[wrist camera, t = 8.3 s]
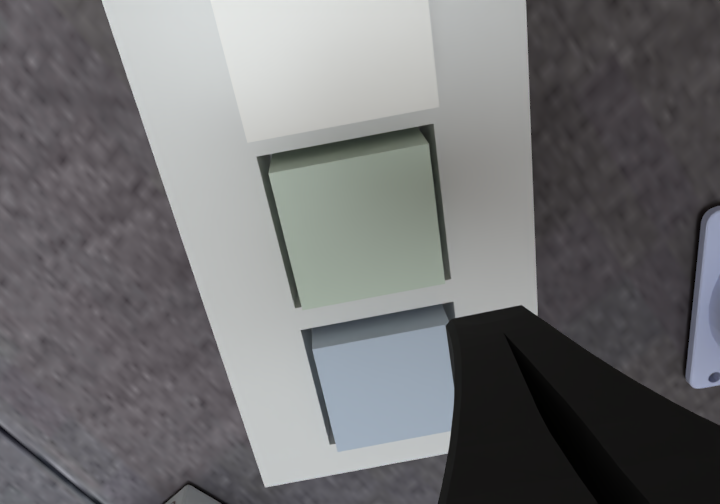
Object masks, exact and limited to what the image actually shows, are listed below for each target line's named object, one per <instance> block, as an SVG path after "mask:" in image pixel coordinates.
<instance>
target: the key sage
mask: <svg viewBox="0 0 720 504" xmlns="http://www.w3.org/2000/svg"><path fill="white" fill-rule="evenodd" d="M268 174H269V178H270V182H271V186H272V190H273V194H274V198H275V202H276V206H277V210H278V214H279V218H280V222H281V226H282V230H283V234H284V238H285V242H286V246H287V250H288V254H289V258H290V262H291V266H292V270H293V274H294V279H295V283H296V287H297V291H298V295H299V299H300V303H301V307H302V310H307V309H312V308H318V307H323V306H329V305H334V304H339V303H345V302H350V301H355V300H361V299H366V298H371V297H377V296H382V295H387V294H393V293H398V292H404V291H409V290H414V289H420V288H425V287H430V286H436V285H441V284H445V277H444V268H443V260H442V251H441V243H440V234H439V226H438V217H437V209H436V200H435V192H434V183H433V175H432V166H431V158H430V149H429V143H428V142H427V140H426V139H425V137H424V136H423V134H422V133H421V132H420V130H419V129H418V127H413V128H407V129H402V130H397V131H391V132H386V133H381V134H375V135H370V136H365V137H359V138H354V139H348V140H343V141H338V142H332V143H327V144H322V145H316V146H311V147H306V148H300V149H295V150H290V151H284V152H279V153H274V154H272V157H271V163H270V168H269V173H268Z"/></svg>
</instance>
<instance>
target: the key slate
mask: <svg viewBox="0 0 720 504" xmlns="http://www.w3.org/2000/svg"><path fill="white" fill-rule="evenodd" d="M448 322H449V320H448V318H447V315H446V313H445V310H444V308H443V305H442V304H438V305H432V306H427V307H422V308H416V309H411V310H406V311H400V312H395V313H389V314H384V315H379V316H373V317H368V318H363V319H357V320H352V321H347V322H341V323H336V324H331V325H325V326H320V327H314V328H312V351H313V355H314V359H315V363H316V367H317V371H318V375H319V379H320V383H321V387H322V391H323V395H324V399H325V403H326V407H327V411H328V415H329V419H330V423H331V427H332V431H333V435H334V439H335V443H336V447H337V451H338V452H341V451H346V450H352V449H357V448H362V447H368V446H373V445H379V444H384V443H389V442H395V441H400V440H405V439H411V438H416V437H421V436H427V435H432V434H438V433H443V432H448V431H451V426H452V417H453V407H454V383H453V376H452V369H451V361H450V354H449V347H448V340H447V333H446V325H447V323H448Z"/></svg>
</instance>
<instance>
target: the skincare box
mask: <svg viewBox="0 0 720 504" xmlns="http://www.w3.org/2000/svg"><path fill="white" fill-rule="evenodd" d="M165 504H221V503H220V502H218V501H216V500H215V499H213V498H211V497H209V496H208V495H206V494H204V493H203V492H201V491H199V490H197V489H196V488H194V487H193V486H191V485H186V486H185V487H184V488H183V489H181V490H180V491H179V492H178V493H177V494H176V495H174V496H173V497H172V498H171V499H170V500H169V501H167V502H166V503H165Z"/></svg>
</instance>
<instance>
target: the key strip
mask: <svg viewBox="0 0 720 504" xmlns="http://www.w3.org/2000/svg"><path fill="white" fill-rule="evenodd" d="M102 3H103V6H104V9H105V12H106V15H107V18H108V21H109V24H110V27H111V30H112V33H113V36H114V39H115V42H116V45H117V47H118V50H119V53H120V56H121V59H122V62H123V65H124V68H125V71H126V74H127V77H128V80H129V83H130V86H131V89H132V92H133V95H134V98H135V101H136V104H137V107H138V110H139V113H140V116H141V119H142V122H143V125H144V128H145V131H146V134H147V137H148V140H149V143H150V146H151V149H152V152H153V155H154V158H155V161H156V164H157V167H158V170H159V173H160V176H161V179H162V182H163V185H164V188H165V191H166V193H167V196H168V199H169V202H170V205H171V208H172V211H173V214H174V217H175V220H176V223H177V226H178V229H179V232H180V235H181V238H182V241H183V244H184V247H185V250H186V253H187V256H188V259H189V262H190V265H191V268H192V271H193V274H194V277H195V280H196V283H197V286H198V289H199V292H200V295H201V298H202V301H203V304H204V307H205V310H206V313H207V316H208V319H209V322H210V325H211V328H212V331H213V334H214V337H215V340H216V342H217V345H218V348H219V351H220V354H221V357H222V360H223V363H224V366H225V369H226V372H227V375H228V378H229V381H230V384H231V387H232V390H233V393H234V396H235V399H236V402H237V405H238V408H239V411H240V414H241V417H242V420H243V423H244V426H245V429H246V432H247V435H248V438H249V441H250V444H251V447H252V450H253V453H254V456H255V459H256V462H257V465H258V468H259V471H260V474H261V477H262V480H263V483H264V486H265V487H270V486H276V485H281V484H286V483H292V482H297V481H302V480H308V479H313V478H318V477H324V476H329V475H335V474H340V473H345V472H351V471H356V470H361V469H367V468H372V467H377V466H383V465H388V464H394V463H399V462H404V461H410V460H415V459H420V458H426V457H431V456H436V455H442V454H447V453H448V450H449V443H450V435H451V431H448V432H443V433H438V434H432V435H427V436H421V437H416V438H411V439H405V440H400V441H395V442H389V443H384V444H379V445H373V446H368V447H362V448H357V449H352V450H346V451H341V452H338V451H337V447H336V443H335V439H334V435H333V431H332V427H331V423H330V419H329V415H328V411H327V407H326V403H325V399H324V395H323V391H322V387H321V383H320V379H319V375H318V371H317V367H316V363H315V359H314V355H313V351H312V328H314V327H320V326H325V325H331V324H336V323H341V322H347V321H352V320H357V319H363V318H368V317H373V316H379V315H384V314H389V313H395V312H400V311H406V310H411V309H416V308H422V307H427V306H432V305H438V304H442V305H443V308H444V310H445V313H446V315H447V318H448V320H449V321H450V320H451V319H453V318H458V317H463V316H468V315H473V314H478V313H483V312H488V311H493V310H499V309H504V308H509V307H514V306H519V305H522V306H524V307H525V308H527V309H528V310H529V311H531V312H532V313H534V314H535V315H537V316H538V308H537V281H536V255H535V228H534V202H533V175H532V149H531V122H530V95H529V69H528V42H527V16H526V0H428V3H429V13H430V22H431V32H432V41H433V50H434V60H435V69H436V79H437V88H438V97H439V107H436V108H431V109H426V110H420V111H415V112H410V113H404V114H399V115H394V116H388V117H383V118H378V119H372V120H367V121H362V122H356V123H351V124H346V125H340V126H335V127H330V128H324V129H319V130H313V131H308V132H303V133H297V134H292V135H287V136H281V137H276V138H271V139H265V140H260V141H255V142H249V143H247V140H246V136H245V132H244V128H243V124H242V121H241V117H240V113H239V109H238V105H237V101H236V97H235V94H234V90H233V86H232V82H231V78H230V74H229V70H228V67H227V63H226V59H225V55H224V51H223V47H222V43H221V40H220V36H219V32H218V28H217V24H216V20H215V16H214V13H213V9H212V5H211V1H210V0H102ZM413 127H418V129H419V130H420V132H421V133H422V134H423V136H424V137H425V139H426V140H427V142H428V143H429V149H430V158H431V166H432V175H433V183H434V192H435V200H436V209H437V217H438V226H439V234H440V243H441V251H442V260H443V268H444V277H445V284H441V285H436V286H430V287H425V288H420V289H414V290H409V291H404V292H398V293H393V294H387V295H382V296H377V297H371V298H366V299H361V300H355V301H350V302H345V303H339V304H334V305H329V306H323V307H318V308H312V309H307V310H302V307H301V303H300V299H299V295H298V291H297V287H296V283H295V279H294V274H293V270H292V266H291V262H290V258H289V254H288V250H287V246H286V242H285V238H284V234H283V230H282V226H281V222H280V218H279V214H278V210H277V206H276V202H275V198H274V194H273V190H272V186H271V182H270V178H269V174H268V173H269V168H270V163H271V157H272V154H274V153H279V152H284V151H290V150H295V149H300V148H306V147H311V146H316V145H322V144H327V143H332V142H338V141H343V140H348V139H354V138H359V137H365V136H370V135H375V134H381V133H386V132H391V131H397V130H402V129H407V128H413Z"/></svg>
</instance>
